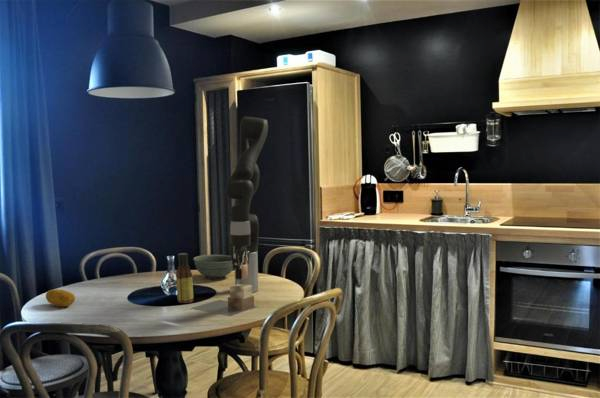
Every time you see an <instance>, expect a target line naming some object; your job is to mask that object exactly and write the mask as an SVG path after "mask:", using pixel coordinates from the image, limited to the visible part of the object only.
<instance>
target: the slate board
mask: <svg viewBox="0 0 600 398" xmlns="http://www.w3.org/2000/svg"><path fill="white" fill-rule="evenodd" d="M258 307H259V306H256V305H254V307H251V308H248V309H245V310H238V309H232V308H228V300H222V299H218V300H213V301H211V302H207V303H204V304H201V305H197V306H194V307H191V308H190V310H196V311H201V312H206V313H211V314H217V315H222V316H227V317H232V316H235V315H237V314H240V313H243V312H247V311H249V310H253V309H255V308H258Z"/></svg>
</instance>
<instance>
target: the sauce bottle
mask: <svg viewBox="0 0 600 398" xmlns="http://www.w3.org/2000/svg"><path fill="white" fill-rule="evenodd" d="M177 258H178V259H177V260H178V261H177V262H178V266H177V269H176V271H175V275H176V278H175V279H176V294H177V295H176V296H177V303H180V304H189V303H190V304H191V303H192V302H194V287H193V286H194V285H193V284H194V282H193V274H192V271H191V267H190V265H189V254H188V253H187V252H181V253H178V254H177Z"/></svg>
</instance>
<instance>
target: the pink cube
mask: <svg viewBox="0 0 600 398" xmlns="http://www.w3.org/2000/svg"><path fill="white" fill-rule="evenodd" d="M247 278H248V265H247V264H242V279H247ZM235 279H236V269H235V268H234V280H235Z"/></svg>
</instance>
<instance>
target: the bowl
mask: <svg viewBox="0 0 600 398" xmlns="http://www.w3.org/2000/svg"><path fill="white" fill-rule="evenodd" d="M193 261H194V265H195V268H196V270H197V271H198V273H200V275H202V276H204V278H205V279H208V280H213V281H214V280H223V279H225V278H226V276H227V275H229V274H231V273H232V271H233V270H235V268H233V265H232V257H231V255H227V254H203V255H198V256H195V257H193Z"/></svg>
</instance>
